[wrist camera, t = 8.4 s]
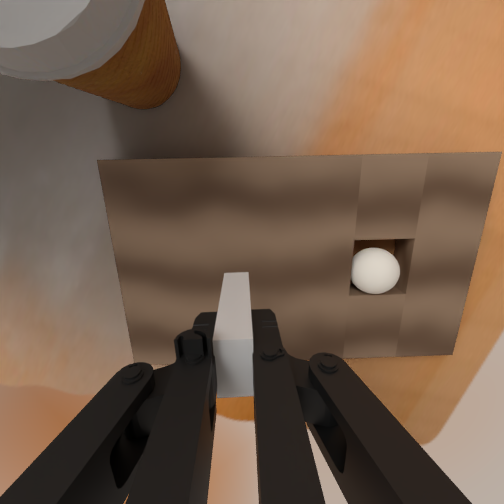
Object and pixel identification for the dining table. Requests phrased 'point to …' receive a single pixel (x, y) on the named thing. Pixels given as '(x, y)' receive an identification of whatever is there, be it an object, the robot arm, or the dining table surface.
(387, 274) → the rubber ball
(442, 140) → the dining table surface
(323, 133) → the dining table surface
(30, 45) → the disposable coffee cup
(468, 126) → the dining table surface
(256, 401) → the robot arm
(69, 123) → the dining table surface
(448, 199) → the hole board
